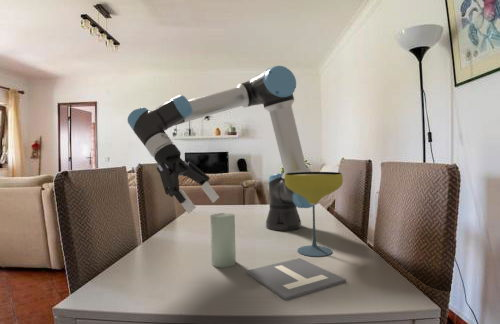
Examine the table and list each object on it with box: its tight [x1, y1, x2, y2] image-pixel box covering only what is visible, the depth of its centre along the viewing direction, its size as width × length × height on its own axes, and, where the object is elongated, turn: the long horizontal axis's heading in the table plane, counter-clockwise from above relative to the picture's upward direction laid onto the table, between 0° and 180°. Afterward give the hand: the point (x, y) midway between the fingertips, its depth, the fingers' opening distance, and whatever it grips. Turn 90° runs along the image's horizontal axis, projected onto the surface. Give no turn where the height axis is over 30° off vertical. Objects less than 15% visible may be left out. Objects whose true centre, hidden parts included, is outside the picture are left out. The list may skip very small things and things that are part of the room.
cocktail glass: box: [285, 171, 344, 258], centre depth 97 cm, size 18×18×25 cm
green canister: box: [210, 212, 237, 269], centre depth 89 cm, size 7×7×14 cm
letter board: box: [245, 257, 347, 301], centre depth 78 cm, size 18×18×1 cm
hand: (205, 205), depth 90 cm, fingers open, 13 cm apart
